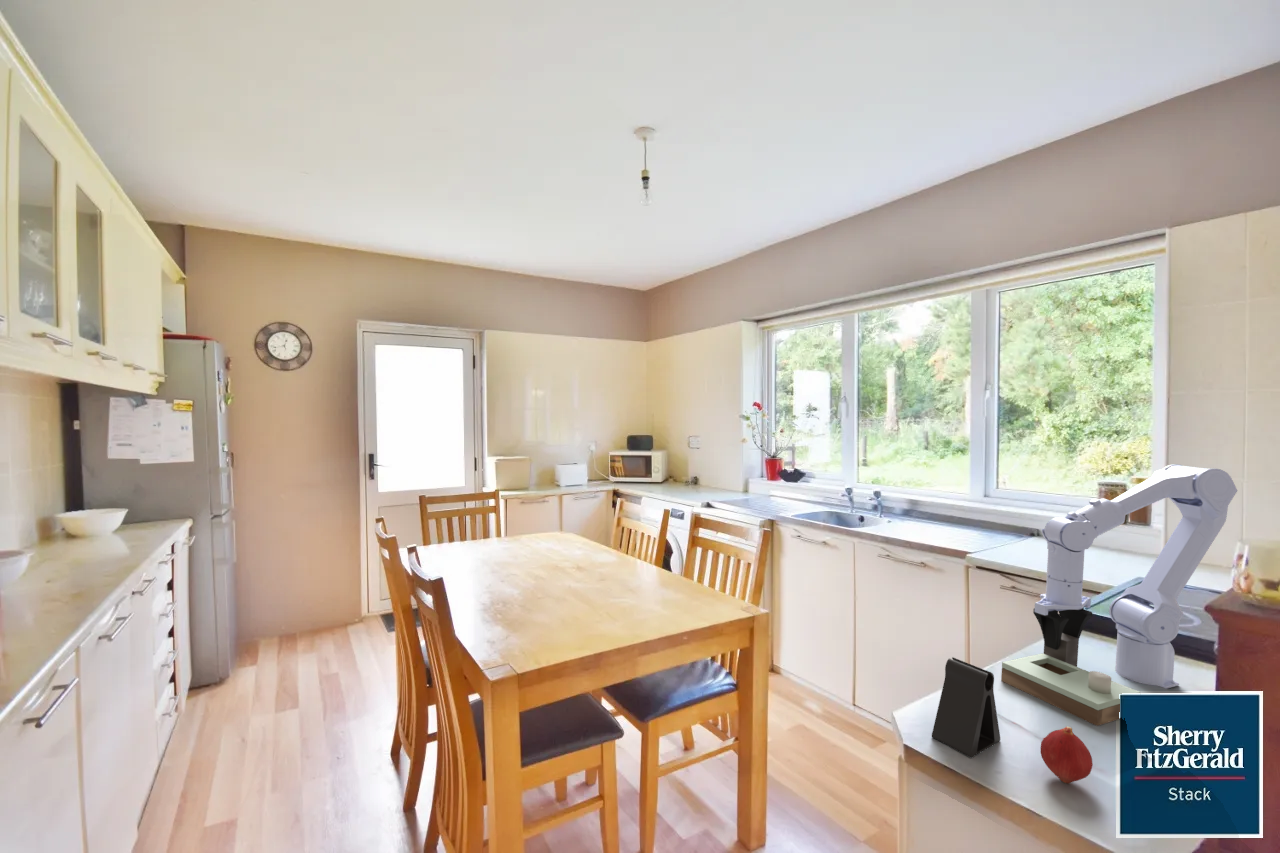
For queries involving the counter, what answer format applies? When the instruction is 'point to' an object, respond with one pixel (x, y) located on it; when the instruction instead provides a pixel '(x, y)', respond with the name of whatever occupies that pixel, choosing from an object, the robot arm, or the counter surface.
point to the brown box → (1061, 697)
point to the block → (1065, 650)
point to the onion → (1066, 755)
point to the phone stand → (967, 709)
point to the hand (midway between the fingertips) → (1060, 645)
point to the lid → (1070, 681)
